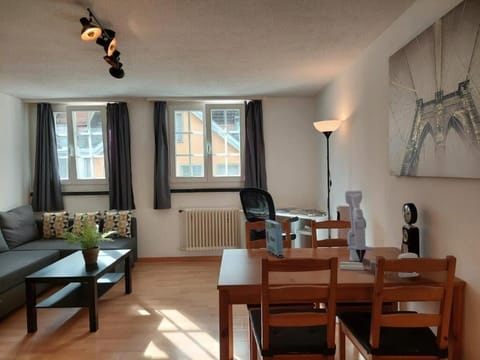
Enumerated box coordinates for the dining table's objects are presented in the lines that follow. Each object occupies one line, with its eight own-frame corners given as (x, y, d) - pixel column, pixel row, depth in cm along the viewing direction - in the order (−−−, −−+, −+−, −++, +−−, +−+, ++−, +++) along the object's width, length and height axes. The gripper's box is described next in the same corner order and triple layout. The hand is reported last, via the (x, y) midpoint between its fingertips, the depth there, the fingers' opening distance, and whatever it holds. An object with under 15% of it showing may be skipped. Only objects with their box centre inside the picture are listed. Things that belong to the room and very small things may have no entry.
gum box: (283, 256, 231) (281, 223, 231) (276, 257, 230) (275, 223, 229) (272, 250, 250) (271, 219, 249) (266, 250, 248) (264, 220, 248)
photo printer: (401, 278, 176) (400, 254, 175) (397, 275, 180) (396, 252, 180) (420, 276, 177) (419, 253, 176) (415, 274, 181) (414, 251, 181)
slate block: (370, 267, 197) (370, 260, 197) (377, 267, 196) (377, 260, 196) (371, 269, 193) (370, 262, 193) (378, 269, 192) (378, 262, 192)
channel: (340, 265, 204) (339, 261, 204) (362, 265, 200) (362, 262, 200) (339, 269, 196) (339, 265, 196) (363, 270, 192) (363, 266, 192)
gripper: (347, 240, 194) (348, 263, 195) (374, 241, 190) (375, 264, 191) (347, 238, 201) (348, 260, 201) (373, 238, 197) (373, 261, 197)
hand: (361, 262), depth 196 cm, fingers closed
